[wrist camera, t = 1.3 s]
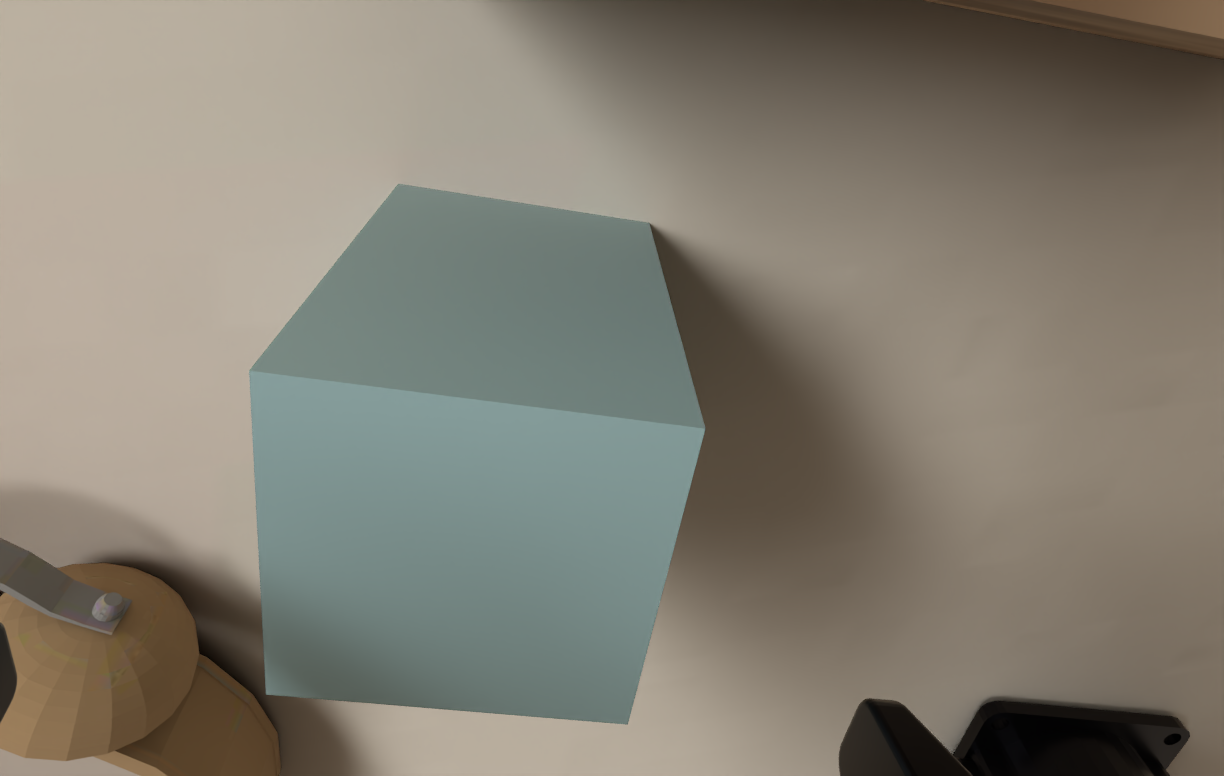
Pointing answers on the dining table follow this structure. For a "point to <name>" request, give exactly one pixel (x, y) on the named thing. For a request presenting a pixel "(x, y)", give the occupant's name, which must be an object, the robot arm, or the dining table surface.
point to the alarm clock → (118, 680)
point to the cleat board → (1123, 19)
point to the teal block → (473, 463)
